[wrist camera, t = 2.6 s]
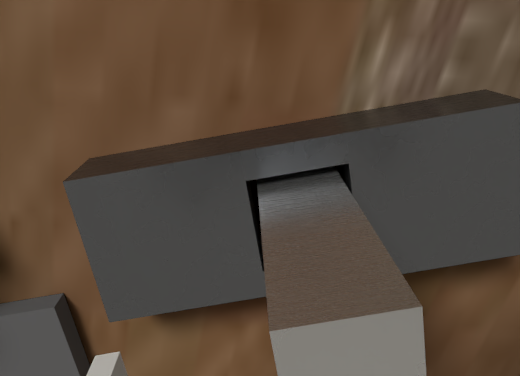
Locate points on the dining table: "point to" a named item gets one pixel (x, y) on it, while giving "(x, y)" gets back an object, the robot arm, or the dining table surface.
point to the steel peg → (333, 284)
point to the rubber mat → (40, 339)
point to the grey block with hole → (291, 161)
